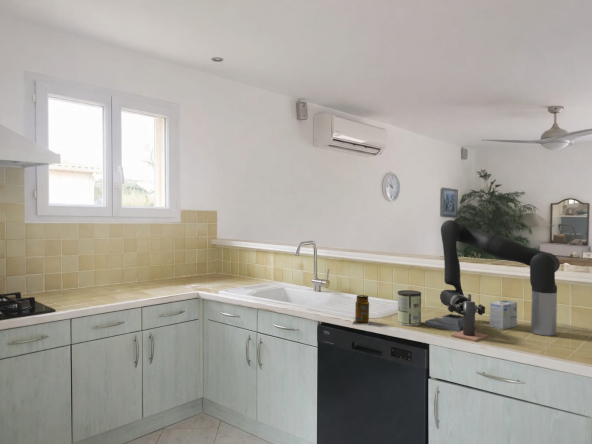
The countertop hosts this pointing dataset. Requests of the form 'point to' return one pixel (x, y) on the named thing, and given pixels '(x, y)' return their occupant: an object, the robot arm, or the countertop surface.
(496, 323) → the light bulb box
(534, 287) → the robot arm
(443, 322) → the grey holder stand
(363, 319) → the condiment
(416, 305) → the coffee can
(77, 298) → the countertop surface
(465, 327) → the plug
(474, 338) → the pink square coaster
